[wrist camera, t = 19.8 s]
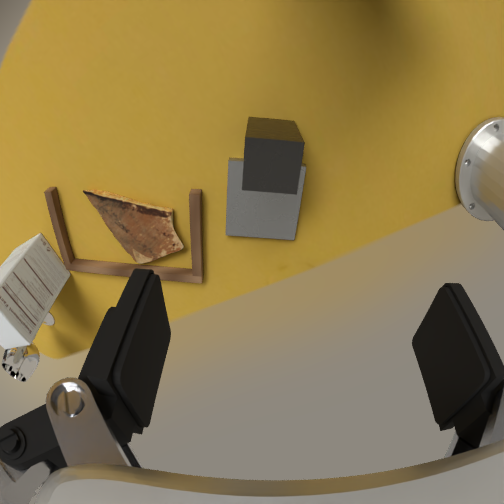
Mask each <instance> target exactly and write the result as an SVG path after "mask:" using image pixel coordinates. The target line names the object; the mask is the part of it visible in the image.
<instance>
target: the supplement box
mask: <svg viewBox="0 0 504 504" xmlns="http://www.w3.org/2000/svg"><path fill="white" fill-rule="evenodd" d="M70 275H71V274H70V272H69V271H68V270H66V267H65V265H64V264H63V263H62V261H61V260H60V259H59V257H58V256H57V254H56V253H55V252H54V250H53V249H52V247H51V246H50V245H49V243H48V242H47V240H46V239H45V238H44V236H43V235H42V234H41V233H39V234H38V235H36V236H34V237H33V238H31V239H29V240H28V241H26V242H25V243H23V244H22V245H20V246H19V247H17V248H16V249H14V251H13V252H12V253H11V254H10V256H9V257H8V258H7V259H6V260H5V262H4V263H3V264H2V265H1V267H0V345H1V346H2V347H3V348H4V349H11V348H16V347H21V346H27V345H31V343H32V341H33V339H34V337H35V335H36V333H37V331H38V330H39V328H40V326H41V324H42V322H43V321H44V319H45V317H46V315H47V314H48V312H49V310H50V308H51V307H52V305H53V303H54V301H55V300H56V298H57V296H58V295H59V293H60V291H61V290H62V288H63V286H64V285H65V283H66V281H67V280H68V278H69V277H70Z"/></svg>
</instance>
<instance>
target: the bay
mask: <svg viewBox="0 0 504 504" xmlns="http://www.w3.org/2000/svg"><path fill="white" fill-rule="evenodd" d="M44 193H45V197H46V201H47V206H48V210H49V214H50V217H51V221H52V225H53V228H54V232H55V235H56V239H57V242H58V246H59V249H60V252H61V255H62V258H63V261H64V264H65V267H66V270H72V271H80V272H89V273H98V274H107V275H117V276H126V277H130V276H131V274H132V272H133V270H134V269H135V268H140V269H152V270H153V271H154V274H158V275H159V277H160V280H168V281H179V282H191V283H202V280H203V249H202V190H201V189H191V191H190V194H189V207H190V233H191V254H192V269H186V268H173V267H161V266H149V265H138V264H127V263H116V262H105V261H94V260H84V259H74V256H73V252H72V249H71V245H70V242H69V238H68V234H67V231H66V227H65V223H64V219H63V215H62V211H61V207H60V202H59V198H58V193H57V188H56V187H49V188H48V189H47V190H46V191H45V192H44Z"/></svg>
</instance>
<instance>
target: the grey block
mask: <svg viewBox="0 0 504 504" xmlns="http://www.w3.org/2000/svg"><path fill="white" fill-rule="evenodd" d="M304 143H305V142H304V140H303V138H302V136H301V134H300V132H299V130H298V128H297V126H296V124H295V122H294V121H289V120H279V119H269V118H256V117H249V118H248V124H247V130H246V136H245V149H244V159H243V158H229V163H228V187H227V213H226V235H231V236H245V237H259V238H273V239H286V240H294V239H295V233H296V227H297V221H298V215H299V209H300V203H301V197H302V191H303V185H304V178H305V172H306V165H305V164H302V157H303V150H304Z"/></svg>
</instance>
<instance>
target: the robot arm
mask: <svg viewBox="0 0 504 504" xmlns="http://www.w3.org/2000/svg"><path fill="white" fill-rule="evenodd" d="M455 183H456V191H457V194H458V197H459V200H460V202H461V203H462V205H463V207H464V208H465V209H466V210H467V211H468V212H469V213H470V214H471V215H472V216H474V217H475V218H477V219H479V220H484V221H493V220H495V221H496V222H497V224H498V225H499V226H500V227H501V228H502V229H503V230H504V118H502V117H496V118H491V119H488V120H486V121H484V122H482V123H481V124H479V125H478V126H477V127H476V128H475V129H474V130H473V131H472V132H471V133H470V135H469V136H468V138H467V139H466V141H465V143H464V145H463V147H462V149H461V151H460V154H459V157H458V160H457V166H456V175H455ZM170 337H171V331H170V326H169V321H168V316H167V312H166V307H165V302H164V297H163V292H162V287H161V281H160V277H159V275H158V274H154V271H153V270H152V269H140V268H135V269H134V270H133V272H132V274H131V276H130V278H129V280H128V282H127V284H126V286H125V288H124V291H123V293H122V295H121V297H120V299H119V301H118V303H117V306H116V307H111V308H109V309H108V311H107V313H106V315H105V317H104V319H103V321H102V323H101V326H100V328H99V330H98V332H97V335H96V337H95V339H94V341H93V344H92V346H91V348H90V351H89V353H88V355H87V358H86V360H85V363H84V365H83V367H82V370H81V372H80V375H79V377H78V379H77V378H65V379H61V380H59V381H57V382H56V383H54V385H53V386H52V387H51V388H50V389H49V391H48V393H47V396H46V404H44V405H42V406H40V407H39V408H36V409H35V410H33V411H30V412H28V413H27V414H25V415H22V416H21V417H18V418H16V419H14V420H12V421H10V422H8V423H6V424H5V425H3V426H2V427H0V504H29V502H30V500H31V498H32V497H33V496H34V495H35V494H36V492H35V490H36V489H37V488H38V487H39V486H40V485H41V484H43V485H42V486H41V488H40V491H39V493H38V495H37V498H36V500H35V503H34V504H504V365H503V363H502V361H501V359H500V356H499V354H498V352H497V350H496V348H495V346H494V344H493V342H492V340H491V338H490V336H489V334H488V332H487V330H486V328H485V326H484V324H483V322H482V320H481V318H480V316H479V315H478V313H477V311H476V309H475V307H474V306H473V304H472V302H471V300H470V299H469V297H468V295H467V293H466V292H465V290H464V288H463V287H462V285H461V284H459V283H445V284H444V285H443V287H441V288H440V289H439V291H438V293H437V295H436V296H435V298H434V300H433V302H432V304H431V306H430V308H429V310H428V312H427V314H426V315H425V317H424V319H423V321H422V323H421V325H420V326H419V328H418V330H417V332H416V333H415V335H414V337H413V340H412V346H413V349H414V352H415V355H416V358H417V361H418V364H419V367H420V370H421V373H422V377H423V380H424V383H425V386H426V390H427V393H428V397H429V400H430V403H431V407H432V411H433V414H434V418H435V421H436V423H437V424H439V427H440V431H442V430H446V429H451V428H453V427H454V426H455V430H456V432H455V434H454V436H453V439H452V441H451V444H450V446H449V448H448V451H447V453H446V455H445V457H444V459H439V460H436V461H432V462H428V463H424V464H420V465H415V466H410V467H405V468H400V469H395V470H390V471H384V472H378V473H372V474H365V475H357V476H349V477H339V478H330V479H329V478H328V479H313V480H287V481H285V480H282V481H271V480H269V481H268V480H265V481H264V480H239V479H224V478H212V477H202V476H192V475H184V474H177V473H170V472H164V471H158V470H150V469H144V468H143V466H142V465H141V463H140V461H139V460H138V458H137V456H136V455H135V453H134V451H133V450H132V448H131V446H130V444H129V442H130V441H131V438H132V434H133V433H138V434H142V432H143V428H144V427H148V426H149V424H150V420H151V415H152V411H153V407H154V403H155V398H156V394H157V390H158V386H159V382H160V378H161V374H162V369H163V366H164V362H165V358H166V354H167V350H168V346H169V342H170Z"/></svg>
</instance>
